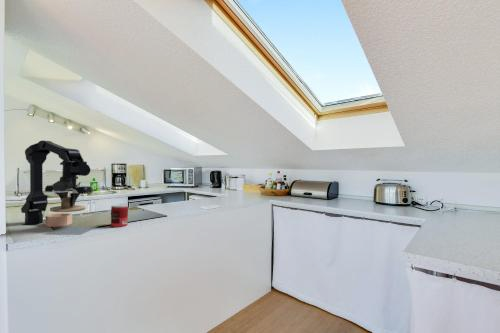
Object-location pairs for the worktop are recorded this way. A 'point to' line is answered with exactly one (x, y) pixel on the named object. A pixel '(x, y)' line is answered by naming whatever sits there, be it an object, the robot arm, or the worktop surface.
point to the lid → (66, 206)
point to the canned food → (119, 215)
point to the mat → (71, 230)
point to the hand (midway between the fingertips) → (68, 206)
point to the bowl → (58, 219)
